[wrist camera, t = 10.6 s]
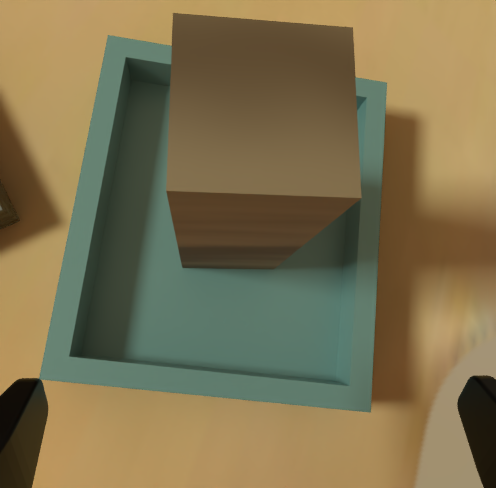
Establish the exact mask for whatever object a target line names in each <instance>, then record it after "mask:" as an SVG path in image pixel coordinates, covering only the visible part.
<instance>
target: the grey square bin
mask: <svg viewBox="0 0 496 488" xmlns="http://www.w3.org/2000/svg"><path fill="white" fill-rule="evenodd" d="M18 221H20V220H19V218H18V216H17V214H16V212H15V210H14V208H13V206H12V204H11V202H10V199H9V197H8V195H7V193H6V191H5V189H4V187H3V185H2V183H1V181H0V229H2V228H4V227H7V226H9V225H11V224H13V223H15V222H18Z"/></svg>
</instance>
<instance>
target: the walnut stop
mask: <svg viewBox="0 0 496 488" xmlns="http://www.w3.org/2000/svg"><path fill="white" fill-rule="evenodd" d="M166 193H167V197H168V202H169V207H170V212H171V216H172V221H173V226H174V231H175V236H176V240H177V245H178V250H179V255H180V260H181V264H182V268H216V269H275V268H276V267H277V266H278V265H280V264H281V263H282V262H283V261H285V260H286V259H287V258H288V257H290V256H291V255H292V254H293V253H294V252H296V251H297V250H298V249H299V248H301V247H302V246H303V245H304V244H306V243H307V242H308V241H309V240H310V239H312V238H313V237H314V236H315V235H317V234H318V233H319V232H320V231H322V230H323V229H324V228H325V227H327V226H328V225H329V224H330V223H331V222H333V221H334V220H335V219H336V218H338V217H339V216H340V215H341V214H343V213H344V212H345V211H346V210H347V209H349V208H350V207H351V206H352V205H354V204H355V203H356V202H357V201H359V200H360V199H361V198H362V197H361V178H360V158H359V139H358V119H357V100H356V81H355V61H354V42H353V28H350V27H338V26H326V25H313V24H301V23H289V22H277V21H264V20H252V19H240V18H228V17H215V16H203V15H191V14H178V13H173V29H172V54H171V80H170V106H169V131H168V157H167V182H166Z"/></svg>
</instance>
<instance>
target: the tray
mask: <svg viewBox="0 0 496 488" xmlns="http://www.w3.org/2000/svg"><path fill="white" fill-rule="evenodd" d="M171 54H172V46H169V45H163V44H157V43H151V42H146V41H140V40H134V39H128V38H122V37H116V36H110V35H108V38H107V43H106V48H105V53H104V58H103V63H102V68H101V73H100V78H99V83H98V88H97V93H96V98H95V103H94V108H93V113H92V118H91V123H90V128H89V133H88V138H87V143H86V148H85V153H84V158H83V163H82V168H81V173H80V178H79V183H78V188H77V193H76V198H75V203H74V208H73V213H72V218H71V223H70V228H69V233H68V238H67V242H66V247H65V252H64V257H63V262H62V267H61V272H60V277H59V282H58V287H57V292H56V297H55V302H54V307H53V312H52V317H51V322H50V327H49V332H48V337H47V342H46V347H45V352H44V357H43V362H42V367H41V372H40V377H39V379H42V380H52V381H62V382H72V383H82V384H92V385H102V386H112V387H122V388H132V389H142V390H152V391H162V392H172V393H182V394H192V395H202V396H212V397H222V398H232V399H242V400H252V401H262V402H272V403H282V404H292V405H302V406H312V407H322V408H332V409H342V410H352V411H362V412H371V394H372V374H373V354H374V334H375V314H376V293H377V273H378V253H379V233H380V213H381V192H382V172H383V152H384V132H385V112H386V91H387V83H386V82H380V81H374V80H368V79H362V78H356V77H355V81H356V100H357V119H358V139H359V158H360V178H361V197H362V198H361V199H360V200H359V201H357V202H356V203H355V204H354V205H352V206H351V207H350V208H349V209H347V210H346V211H345V212H344V213H343V214H341V215H340V216H339V217H338V218H336V219H335V220H334V221H333V222H331V223H330V224H329V225H328V226H327V227H325V228H324V229H323V230H322V231H320V232H319V233H318V234H317V235H315V236H314V237H313V238H312V239H310V240H309V241H308V242H307V243H306V244H304V245H303V246H302V247H301V248H299V249H298V250H297V251H296V252H294V253H293V254H292V255H291V256H290V257H288V258H287V259H286V260H285V261H283V262H282V263H281V264H280V265H278V266H277V267H276V268H275V269H216V268H182V264H181V260H180V255H179V250H178V245H177V240H176V236H175V231H174V226H173V221H172V216H171V212H170V207H169V202H168V197H167V193H166V182H167V157H168V131H169V106H170V80H171Z"/></svg>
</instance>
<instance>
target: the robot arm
mask: <svg viewBox="0 0 496 488" xmlns="http://www.w3.org/2000/svg"><path fill="white" fill-rule="evenodd" d="M458 411H459V414H460V418H461V421H462V424H463V427H464V430H465V433H466V436H467V439H468V443H469V446H470V449H471V452H472V455H473V458H474V462H475V465H476V468H477V471H478V473H479V476H480V479H481V482H482V484H483V487H484V488H496V379H494V378H493V377H491V376H472V377H470V379H469V380H468V381H467V383H466V385H465V387H464V389H463V391H462V392H461V394H460V396H459V399H458ZM47 416H48V402H47V399H46V395H45V391H44V387H43V383H42V381H41V380H40V379H38V378H22V379H18V380H17V381H15V382H14V383H13V384H12V385H11V386H10V387H9V388H8V389H7V390H6V391H5V392H4V393H3V394H2V395H1V396H0V488H32V484H33V480H34V475H35V471H36V466H37V462H38V457H39V453H40V448H41V444H42V439H43V434H44V430H45V425H46V421H47Z"/></svg>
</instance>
